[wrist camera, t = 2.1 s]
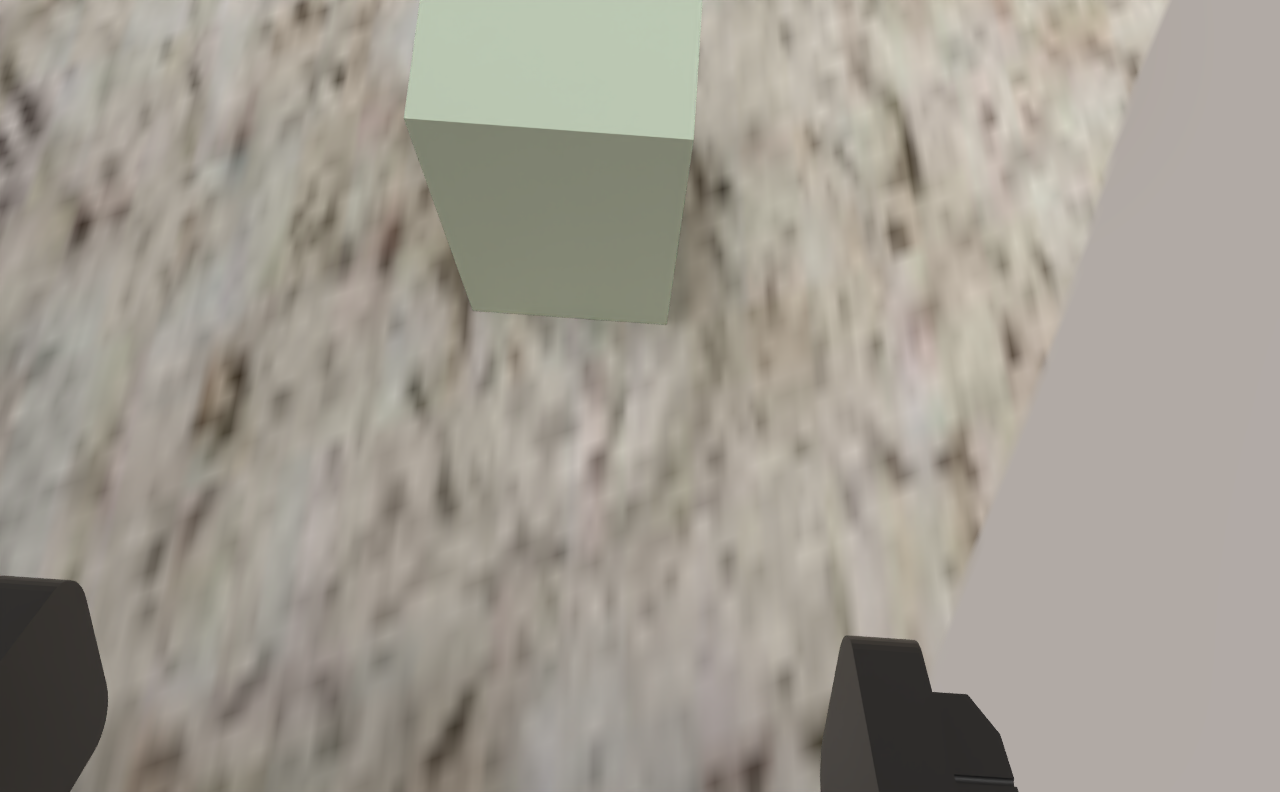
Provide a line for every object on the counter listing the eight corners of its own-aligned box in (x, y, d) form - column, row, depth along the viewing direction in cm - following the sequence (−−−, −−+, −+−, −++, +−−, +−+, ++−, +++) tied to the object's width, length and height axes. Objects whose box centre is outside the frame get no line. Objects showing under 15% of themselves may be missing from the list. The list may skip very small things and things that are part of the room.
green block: (472, 310, 29) (403, 118, 19) (492, 135, 30) (437, -128, 21) (666, 324, 29) (693, 139, 19) (677, 148, 30) (709, -107, 21)
